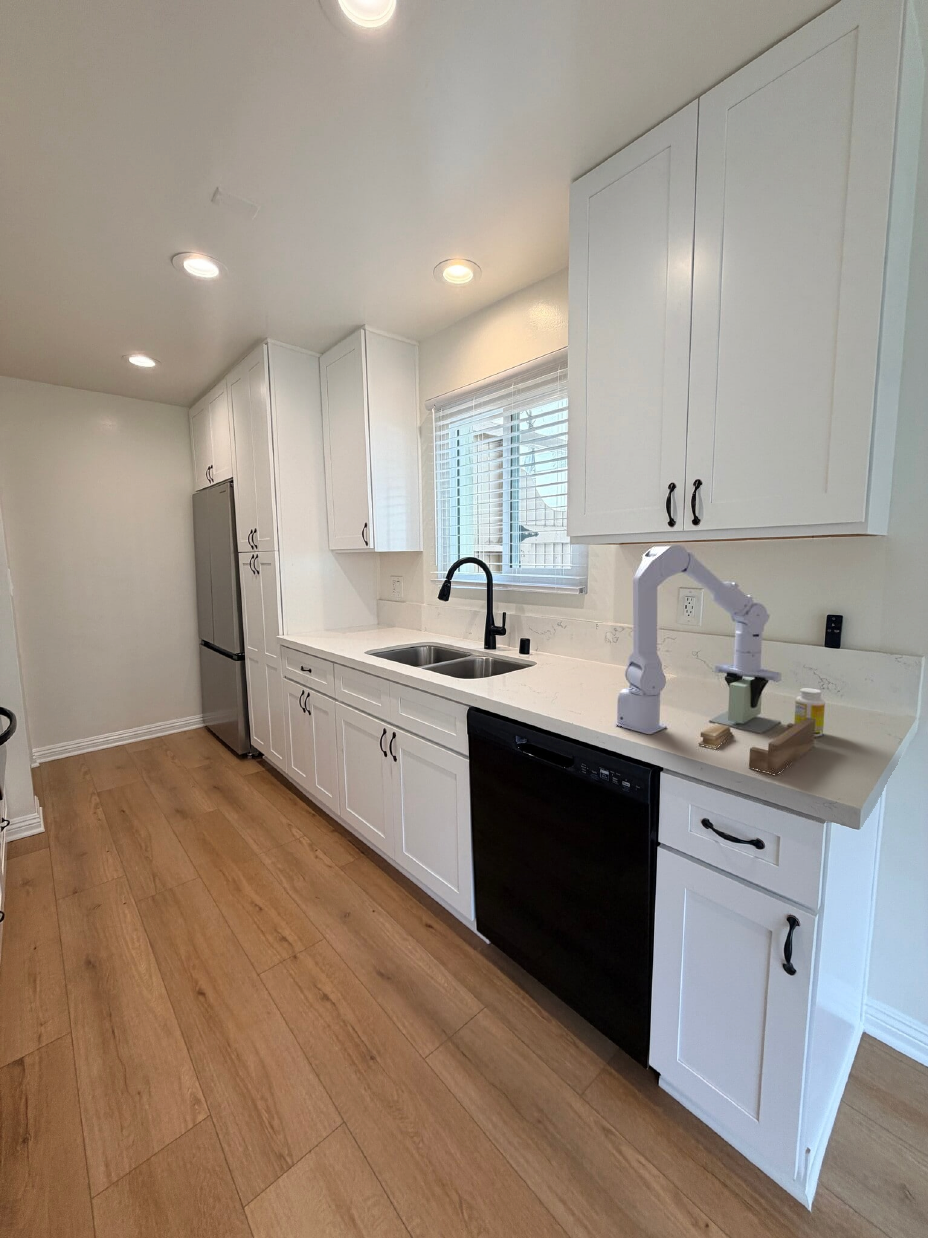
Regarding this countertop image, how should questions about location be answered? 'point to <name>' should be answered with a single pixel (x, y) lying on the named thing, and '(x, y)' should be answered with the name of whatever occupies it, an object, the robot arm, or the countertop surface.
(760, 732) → the slate mat
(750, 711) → the tall sage green prism
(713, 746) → the offcut stack
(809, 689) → the supplement bottle
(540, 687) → the countertop surface
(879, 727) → the countertop surface
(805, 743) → the walnut rack
